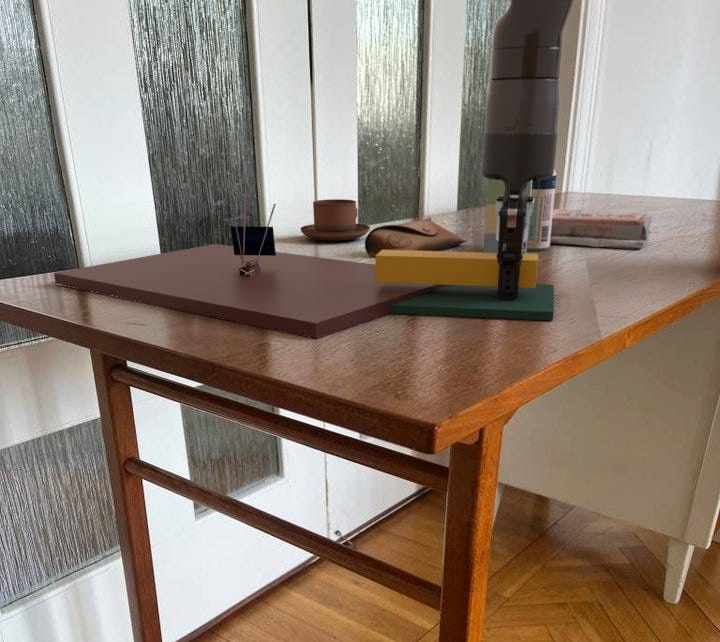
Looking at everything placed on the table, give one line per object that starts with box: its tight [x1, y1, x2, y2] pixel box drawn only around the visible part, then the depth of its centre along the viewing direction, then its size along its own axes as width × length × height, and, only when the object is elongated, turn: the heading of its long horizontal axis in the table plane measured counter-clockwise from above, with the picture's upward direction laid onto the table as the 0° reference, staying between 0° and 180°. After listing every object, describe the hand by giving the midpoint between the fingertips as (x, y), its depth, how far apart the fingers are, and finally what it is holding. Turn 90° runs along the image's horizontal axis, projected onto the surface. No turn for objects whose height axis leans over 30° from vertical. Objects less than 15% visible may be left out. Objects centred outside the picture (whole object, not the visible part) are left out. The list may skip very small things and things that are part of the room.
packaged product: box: [550, 208, 652, 250], centre depth 124 cm, size 18×5×10 cm
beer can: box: [526, 168, 557, 252], centre depth 117 cm, size 5×5×12 cm
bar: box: [374, 250, 539, 288], centre depth 86 cm, size 18×4×3 cm, turn 77°
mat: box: [389, 283, 555, 321], centre depth 87 cm, size 22×14×1 cm, turn 77°
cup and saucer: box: [300, 198, 371, 242], centre depth 130 cm, size 12×12×6 cm
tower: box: [482, 179, 532, 254], centre depth 109 cm, size 6×6×12 cm
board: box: [53, 198, 449, 339], centre depth 94 cm, size 45×28×10 cm, turn 52°
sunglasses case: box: [364, 216, 467, 257], centre depth 120 cm, size 18×7×7 cm
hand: (508, 294), depth 86 cm, fingers closed on bar, 4 cm apart
